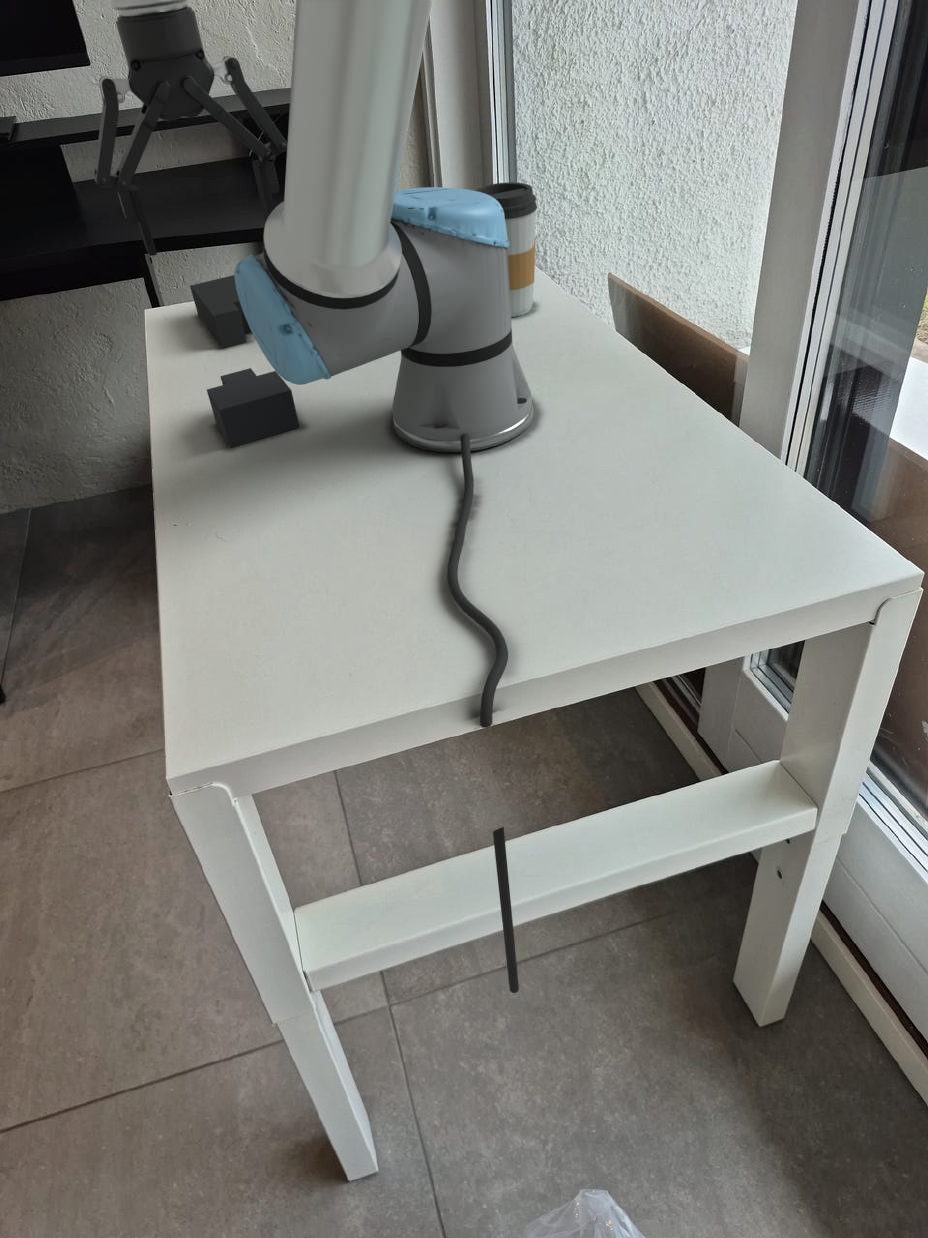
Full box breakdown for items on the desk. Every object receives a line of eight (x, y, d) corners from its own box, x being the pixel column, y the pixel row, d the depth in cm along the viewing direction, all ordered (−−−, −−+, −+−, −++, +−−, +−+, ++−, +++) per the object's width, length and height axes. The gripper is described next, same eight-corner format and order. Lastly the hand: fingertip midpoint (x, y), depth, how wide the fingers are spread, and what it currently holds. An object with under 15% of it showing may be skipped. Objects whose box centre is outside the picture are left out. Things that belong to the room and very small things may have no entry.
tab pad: (299, 427, 100) (291, 389, 98) (230, 447, 98) (219, 409, 95) (277, 398, 107) (269, 362, 104) (211, 417, 104) (201, 380, 102)
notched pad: (307, 326, 123) (300, 293, 121) (221, 348, 120) (212, 315, 117) (277, 296, 133) (271, 266, 131) (198, 316, 130) (189, 285, 127)
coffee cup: (468, 306, 124) (458, 189, 114) (522, 292, 126) (517, 177, 117) (495, 326, 118) (487, 204, 108) (551, 311, 120) (548, 190, 111)
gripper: (268, -11, 93) (310, 208, 106) (16, 26, 86) (94, 255, 99) (288, -9, 87) (329, 221, 100) (20, 31, 80) (103, 272, 94)
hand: (213, 238), depth 100 cm, fingers open, 13 cm apart
